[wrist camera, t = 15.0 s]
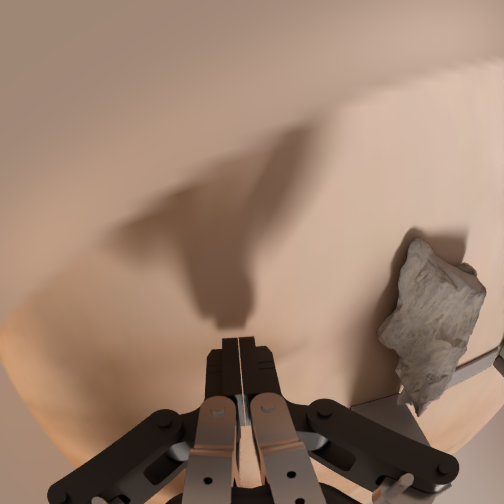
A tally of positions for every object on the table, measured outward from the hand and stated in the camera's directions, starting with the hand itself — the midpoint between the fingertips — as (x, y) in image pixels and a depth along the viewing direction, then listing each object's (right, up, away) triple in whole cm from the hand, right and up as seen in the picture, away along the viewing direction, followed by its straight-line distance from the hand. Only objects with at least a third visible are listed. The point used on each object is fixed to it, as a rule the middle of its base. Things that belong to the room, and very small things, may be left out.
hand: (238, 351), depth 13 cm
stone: (+11, 0, +3) cm, 12 cm away
